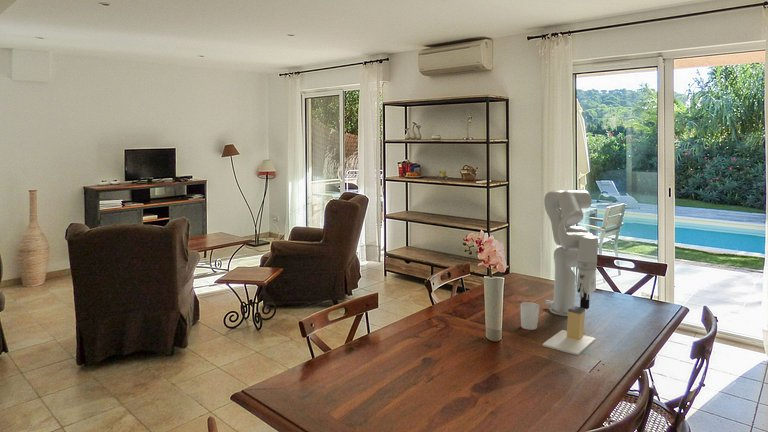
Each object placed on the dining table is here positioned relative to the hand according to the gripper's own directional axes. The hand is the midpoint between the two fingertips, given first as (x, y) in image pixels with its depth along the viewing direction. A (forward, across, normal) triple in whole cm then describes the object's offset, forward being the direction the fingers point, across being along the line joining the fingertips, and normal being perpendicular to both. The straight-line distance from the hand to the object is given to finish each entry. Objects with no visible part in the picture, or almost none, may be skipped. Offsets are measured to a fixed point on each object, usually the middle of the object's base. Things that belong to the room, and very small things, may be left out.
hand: (584, 308), depth 215 cm
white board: (+11, -14, 0) cm, 18 cm away
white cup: (+11, -8, +20) cm, 25 cm away
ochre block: (+10, -8, 0) cm, 13 cm away
